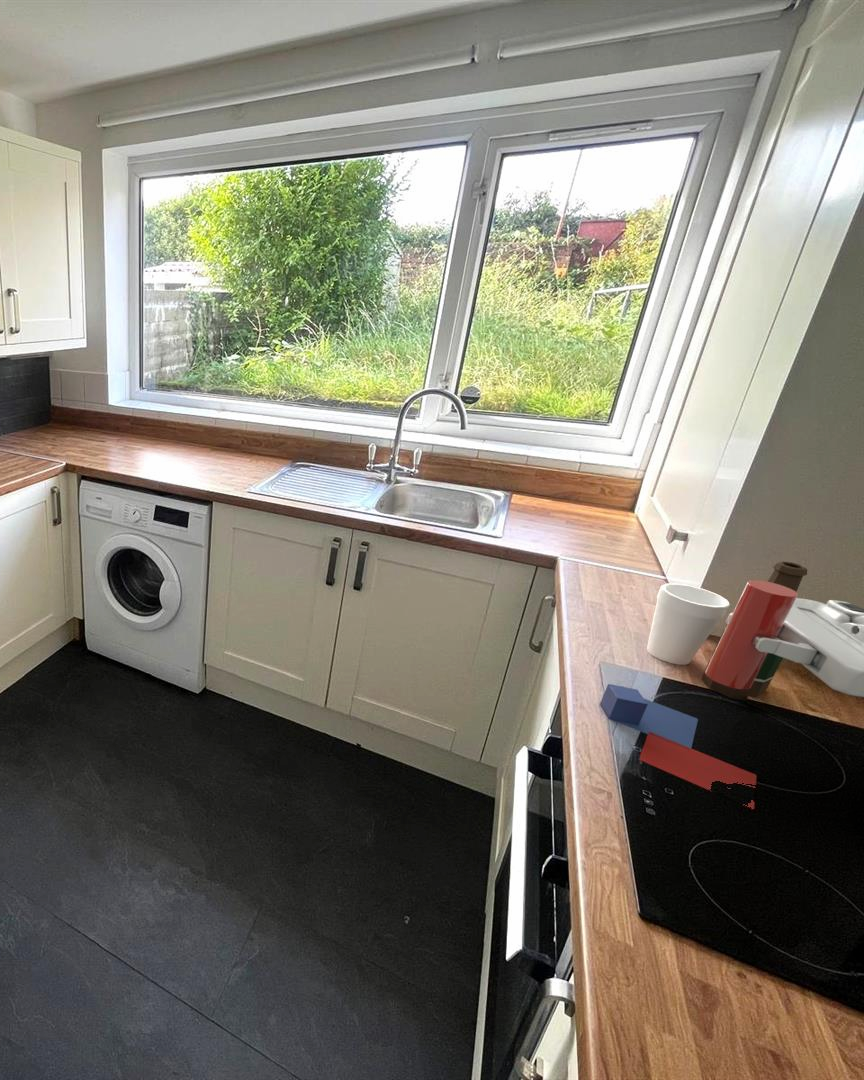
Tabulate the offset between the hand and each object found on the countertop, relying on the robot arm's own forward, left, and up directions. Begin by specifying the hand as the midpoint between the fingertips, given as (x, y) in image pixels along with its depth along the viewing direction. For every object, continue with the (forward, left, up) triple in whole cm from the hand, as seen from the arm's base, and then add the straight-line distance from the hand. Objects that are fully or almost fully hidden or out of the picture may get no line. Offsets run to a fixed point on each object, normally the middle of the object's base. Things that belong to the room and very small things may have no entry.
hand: (742, 630), depth 77 cm
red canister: (-1, 0, -7) cm, 8 cm away
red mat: (-2, +1, -21) cm, 22 cm away
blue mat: (+4, -8, -21) cm, 23 cm away
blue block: (+8, -5, -21) cm, 23 cm away
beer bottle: (-4, -29, -22) cm, 36 cm away
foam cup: (+5, -35, -22) cm, 41 cm away
